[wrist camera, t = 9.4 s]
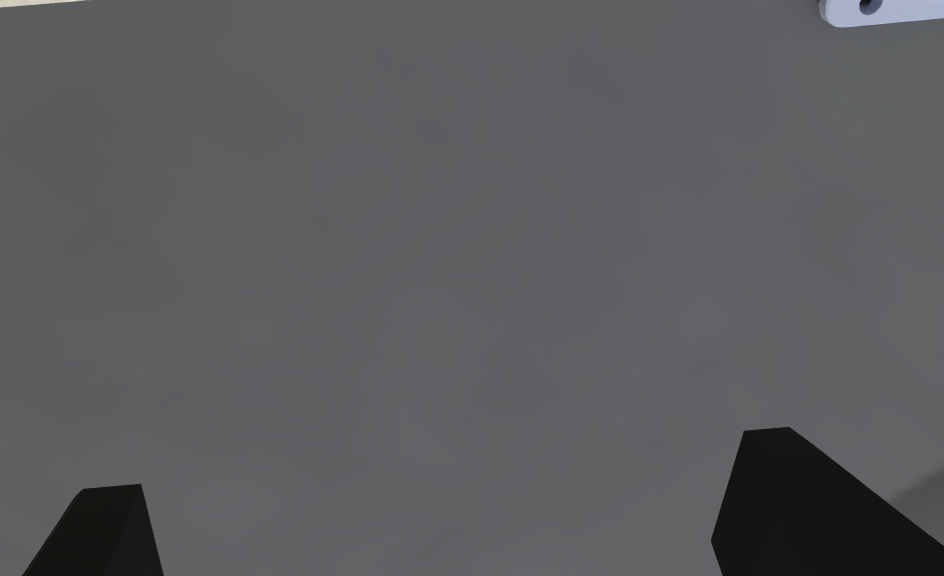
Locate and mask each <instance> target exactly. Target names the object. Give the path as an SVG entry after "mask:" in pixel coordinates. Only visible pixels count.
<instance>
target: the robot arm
mask: <svg viewBox="0 0 944 576" xmlns="http://www.w3.org/2000/svg"><path fill="white" fill-rule="evenodd" d="M860 1H861V0H819V12H820V15H821V17H822V18H823V19H824V20H825V21H827V22H828V23H830V24H832V25H833V26H836V27H853V26H863V25H874V24H885V23H895V22H906V21H917V20H928V19H938V18H944V0H871V2H870V3H869V4H868V5H867V6H866V7H865V8H863V9H861V10H860V9H859V3H860ZM711 543H712V546H713V549H714V552H715V555H716V558H717V560H718V563H719V566H720V569H721V572H722V575H723V576H944V546H943V545H942V544H940V543H939V542H938V541H936V540H935V539H934V538H933V537H931V536H930V535H928V534H927V533H926V532H925V531H923V530H922V529H921V528H919V527H918V526H917V525H915V524H914V523H913V522H912V521H910V520H909V519H908V518H906V517H905V516H904V515H903V514H901V513H900V512H899V511H897V510H896V509H895V508H894V507H892V506H891V505H890V504H888V503H887V502H886V501H885V500H883V499H882V498H881V497H879V496H878V495H877V494H876V493H874V492H873V491H872V490H871V489H869V488H868V487H867V486H865V485H864V484H863V483H862V482H860V481H859V480H858V479H857V478H855V477H854V476H853V475H851V474H850V473H849V472H848V471H846V470H845V469H844V468H842V467H841V466H840V465H839V464H837V463H836V462H835V461H834V460H832V459H831V458H830V457H828V456H827V455H826V454H825V453H823V452H822V451H821V450H819V449H818V448H817V447H815V446H814V445H813V444H811V443H810V442H809V441H808V440H806V439H805V438H803V437H802V436H801V435H799V434H798V433H797V432H795V431H794V430H793V429H791V428H790V427H782V428H771V429H759V430H748V431H744V433H743V436H742V439H741V443H740V446H739V449H738V452H737V456H736V459H735V462H734V466H733V469H732V472H731V476H730V479H729V482H728V485H727V489H726V492H725V495H724V499H723V502H722V505H721V509H720V512H719V515H718V519H717V522H716V525H715V528H714V532H713V535H712V538H711ZM22 576H164V575H163V571H162V567H161V563H160V559H159V555H158V551H157V547H156V543H155V538H154V534H153V530H152V526H151V522H150V518H149V514H148V510H147V506H146V502H145V498H144V494H143V490H142V486H141V484H134V485H122V486H111V487H100V488H88V489H83V490H82V491H80V492H79V493H78V494H77V495H76V496H75V497H74V499H73V500H72V502H71V503H70V505H69V506H68V508H67V509H66V511H65V512H64V514H63V515H62V517H61V519H60V520H59V522H58V523H57V525H56V526H55V528H54V529H53V531H52V532H51V534H50V535H49V537H48V538H47V540H46V541H45V543H44V544H43V546H42V547H41V549H40V550H39V552H38V553H37V555H36V556H35V557H34V559H33V560H32V562H31V563H30V565H29V566H28V568H27V569H26V571H25V572H24V574H23V575H22Z"/></svg>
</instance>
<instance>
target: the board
mask: <svg viewBox="0 0 944 576" xmlns="http://www.w3.org/2000/svg"><path fill="white" fill-rule="evenodd" d="M71 1H83V0H0V7H10V6H22V5H34V4H47V3H59V2H71Z"/></svg>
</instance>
